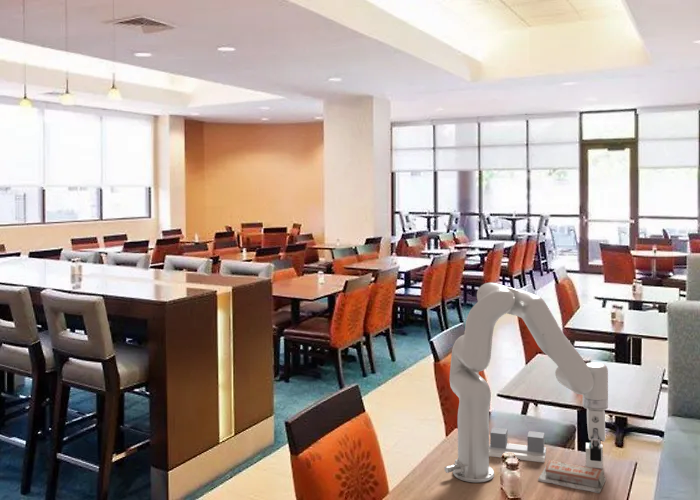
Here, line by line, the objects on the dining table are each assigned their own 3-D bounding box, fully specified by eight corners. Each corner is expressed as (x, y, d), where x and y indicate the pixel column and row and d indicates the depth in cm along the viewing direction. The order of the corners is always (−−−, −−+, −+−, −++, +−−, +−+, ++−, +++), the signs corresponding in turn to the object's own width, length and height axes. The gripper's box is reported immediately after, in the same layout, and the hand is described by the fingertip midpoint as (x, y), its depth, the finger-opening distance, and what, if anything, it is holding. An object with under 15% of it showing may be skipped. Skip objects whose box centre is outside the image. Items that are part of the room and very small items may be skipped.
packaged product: (606, 466, 200) (600, 479, 191) (606, 481, 200) (600, 495, 192) (546, 455, 209) (537, 467, 201) (546, 469, 210) (537, 482, 201)
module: (585, 466, 210) (585, 446, 210) (585, 460, 215) (585, 440, 214) (602, 468, 208) (602, 448, 208) (602, 462, 213) (602, 442, 213)
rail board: (488, 455, 220) (488, 434, 219) (491, 445, 228) (491, 425, 228) (544, 462, 214) (544, 440, 213) (546, 451, 222) (546, 430, 222)
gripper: (608, 412, 200) (608, 466, 202) (607, 394, 217) (607, 445, 218) (582, 410, 203) (582, 464, 205) (583, 392, 219) (583, 442, 221)
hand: (595, 454), depth 211 cm, fingers open, 9 cm apart
